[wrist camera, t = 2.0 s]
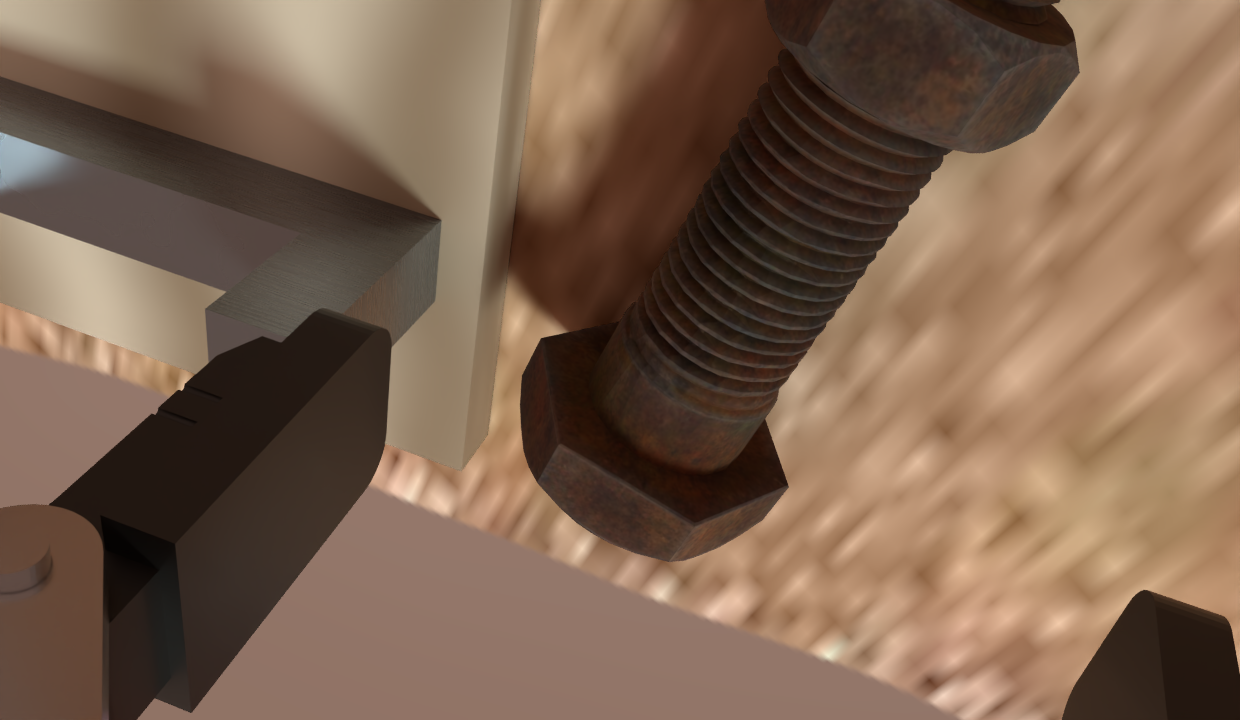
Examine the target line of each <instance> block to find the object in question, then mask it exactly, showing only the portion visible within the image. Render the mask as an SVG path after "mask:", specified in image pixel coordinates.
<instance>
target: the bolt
mask: <svg viewBox="0 0 1240 720" xmlns="http://www.w3.org/2000/svg"><path fill="white" fill-rule="evenodd" d="M1059 2H1060V0H765V4H766V9H767V15H768V19H769V21H770V24H771V26H772V28H773V30H774V31H775V33H776V35H777V36H778V38H779V40H780V41H781V42H782V44H783V45H784V46H785V47H786V48H787V49H784V50H782V51H781V52H780V53H779V56H778V60H779V65H778V66H774V67H773V68H772V69H770V71H769V73H768V81H769V83H764V84H763V85H762V86H761V87H760V88H759V91H758V99H756V100H754V101H753V102H752V103H751V104H750V106H749V109H748V113H747V114H748V117H745V118H742V120H741V121H740V122H739V124H738V126H739V132H738V133H737V134H735V135H734V136H733V137H732V138H731V139H730V140H729V148H728V149H727V150H726V151H725V152H724V153H722V154H721V156H720V163H719V164H718V165H717V166H716V167H715V168H714V169H713V170H712V171H711V178H710V179H709V180H708V181H707V182H706V183H705V184H704V187H703V191H702V193H701V194H699V196H698V199H697V202H696V205H695V207H694V208H693V209H692V210H691V211H690V212H689V214H688V218H687V221H685V222H684V223H683V225H682V226H681V227H680V230H679V233H678V235H677V236H676V237H675V238H674V239H673V240H672V243H671V245H670V248H669V250H668V251H667V252H666V253H665V254H664V256H663V258H662V261H661V263H660V265H659V266H658V268H657V269H656V270H655V271H654V272H653V277H652V279H651V280H650V281H649V282H648V283H647V285H646V288H645V291H644V292H643V293H642V294H641V296H640V297H639V299H638V301H637V302H635V303H633V304H632V305H631V306H630V307H629V308H628V309H627V311H626V312H625V314H624V316H623V318H622V319H621V321H620V322H616V323H611V324H606V325H601V326H597V327H592V328H587V329H582V330H578V331H573V332H568V333H563V334H559V335H554V336H549V337H544V338H541V340H540V341H539V343H538V345H537V347H536V349H535V351H534V353H533V355H532V357H531V359H530V361H529V363H528V365H527V367H526V369H525V371H524V373H523V375H522V383H521V399H520V413H521V430H522V441H523V449H524V453H525V457H526V460H527V463H528V466H529V468H530V470H531V472H532V474H533V476H534V478H535V479H536V481H537V483H538V484H539V485H540V486H541V487H542V488H543V490H544V491H545V492H546V493H547V494H548V495H549V496H550V497H551V498H552V500H553V501H554V502H555V503H556V504H557V505H558V506H559V507H560V508H561V509H562V510H563V511H564V512H565V513H566V514H567V515H569V516H570V517H571V518H572V519H573V520H574V521H575V522H576V523H578V524H579V525H581V526H582V527H584V528H585V529H587V530H588V531H590V532H591V533H593V534H594V535H596V536H598V537H600V538H601V539H603V540H605V541H607V542H609V543H611V544H613V545H616V546H618V547H621V548H623V549H626V550H629V551H631V552H634V553H637V554H640V555H644V556H648V557H652V558H656V559H660V560H664V561H667V562H672V561H684V560H687V559H690V558H694V557H696V556H699V555H701V554H704V553H707V552H709V551H711V550H714V549H716V548H718V547H720V546H722V545H724V544H726V543H727V542H729V541H731V540H733V539H734V538H736V537H738V536H740V535H741V534H743V533H744V532H746V531H747V530H748V529H750V528H751V527H753V526H754V525H756V524H757V523H759V522H760V521H762V520H763V519H764V517H765V516H766V515H767V514H768V512H769V511H770V510H771V509H772V507H773V506H774V505H775V504H776V502H777V501H778V500H779V499H780V497H781V496H782V495H783V494H784V492H785V491H786V490H787V489H788V488H789V486H788V483H787V480H786V477H785V474H784V472H783V469H782V466H781V463H780V460H779V457H778V455H777V452H776V449H775V446H774V443H773V440H772V437H771V435H770V432H769V429H768V426H767V423H766V420H765V418H766V416H767V415H768V414H769V412H770V411H771V409H772V408H773V406H774V405H775V403H776V401H777V397H778V393H779V388H780V387H781V386H782V385H783V384H784V383H785V382H786V381H787V380H788V378H789V376H790V374H791V373H792V372H793V371H794V369H795V368H796V367H797V366H798V363H799V362H800V361H801V359H802V358H803V357H804V356H805V354H806V353H807V350H808V349H809V348H810V347H811V346H812V344H813V342H814V340H815V338H816V337H817V336H818V335H819V334H820V333H821V332H822V331H823V330H824V328H825V327H826V323H827V322H828V321H829V320H830V319H832V318H833V316H834V315H835V312H836V310H837V309H838V308H839V307H840V306H841V305H842V304H843V303H844V301H845V299H846V297H847V295H848V294H850V292H851V291H852V290H853V289H854V287H855V285H856V283H857V280H858V279H859V278H861V277H862V276H863V275H864V273H865V271H866V268H867V266H868V264H870V263H871V262H872V261H873V260H874V259H875V258H876V253H877V251H878V250H880V249H881V248H882V247H883V246H884V245H885V243H886V240H887V238H888V236H891V235H892V233H893V232H894V231H895V230H896V228H897V227H898V221H900V220H901V219H902V218H903V217H905V216H906V215H907V213H908V211H909V205H911V204H912V203H913V202H914V201H915V200H916V199H917V198H918V197H919V194H920V189H921V188H923V187H924V186H925V185H926V184H927V183H928V182H929V181H930V179H931V172H934V171H935V170H937V169H938V168H939V167H940V166H941V164H942V162H943V155H947V154H948V153H950V152H951V151H952V150H957V151H962V152H967V153H986V152H990V151H993V150H996V149H999V148H1002V147H1005V146H1007V145H1010V144H1011V143H1013V142H1015V141H1017V140H1019V139H1021V138H1023V137H1025V136H1027V135H1029V134H1031V133H1033V132H1034V131H1035V130H1036V129H1037V128H1038V126H1039V125H1040V124H1041V122H1042V121H1043V120H1044V118H1045V117H1046V116H1047V114H1048V113H1049V112H1050V111H1051V109H1052V108H1053V107H1054V105H1055V104H1056V103H1057V101H1058V100H1059V99H1060V98H1061V96H1062V95H1063V94H1064V92H1065V91H1066V90H1067V88H1068V87H1069V86H1070V84H1071V83H1072V82H1073V81H1074V79H1075V78H1076V77H1077V75H1078V74H1079V73H1080V72H1079V65H1078V57H1077V49H1076V42H1075V37H1074V33H1073V30H1072V28H1071V27H1070V25H1069V24H1068V22H1067V21H1066V20H1065V18H1064V17H1063V15H1062V14H1061V13H1060V12H1059V11H1058V10H1057V9H1056V8H1055V7H1054V6H1052V5H1051V4H1054V3H1059Z"/></svg>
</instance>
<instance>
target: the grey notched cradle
mask: <svg viewBox="0 0 1240 720" xmlns="http://www.w3.org/2000/svg"><path fill="white" fill-rule="evenodd" d="M0 213H3V214H5V215H8V216H11V217H14V218H17V219H20V220H23V221H25V222H28V223H31V224H34V225H37V226H40V227H43V228H45V229H48V230H51V231H54V232H57V233H60V234H63V235H65V236H68V237H71V238H74V239H77V240H80V241H83V242H85V243H88V244H91V245H94V246H97V247H100V248H103V249H105V250H108V251H111V252H114V253H117V254H120V255H123V256H125V257H128V258H131V259H134V260H137V261H140V262H143V263H145V264H148V265H151V266H154V267H157V268H160V269H163V270H165V271H168V272H171V273H174V274H177V275H180V276H183V277H185V278H188V279H191V280H194V281H197V282H200V283H203V284H205V285H208V286H211V287H214V288H217V289H220V290H223V291H225V292H226V293H224V294H223V295H222V296H221V297H219V298H218V299H217V300H216V301H214V302H213V303H212V304H211V305H209V306H208V307H207V308H205V317H206V332H207V347H208V361H209V362H210V361H211V360H212V359H213V358H215V357H216V356H217V355H219V354H221V353H224V352H226V351H228V350H231V349H233V348H235V347H238V346H240V345H242V344H245V343H247V342H249V341H252V340H254V339H257V338H259V337H261V336H264V337H266V338H269V339H272V340H275V341H278V342H282V341H283V340H285V339H286V338H287V337H288V336H289V335H290V334H291V333H292V332H293V331H294V330H295V329H296V328H297V327H298V326H299V325H300V324H301V323H302V322H303V321H305V320H306V319H307V318H308V317H309V316H310V315H311V314H312V313H313V312H315V311H316V310H318V309H321V308H326V309H329V310H332V311H335V312H338V313H341V314H344V315H347V316H350V317H353V318H356V319H359V320H362V321H364V322H367V323H370V324H373V325H376V326H379V327H382V328H385V329H387V330H388V331H389V333H390V336H391V342H392V347H393V346H394V344H395V343H396V342H397V341H398V340H399V339H400V338H401V337H402V336H403V335H404V334H405V333H406V332H407V331H408V330H409V329H410V328H411V326H412V325H413V324H414V323H415V322H416V321H417V320H418V319H419V318H420V317H421V316H422V315H423V314H424V313H425V312H426V311H427V309H428V308H429V307H430V306H431V305H432V304H433V303H434V302H435V299H436V286H437V273H438V261H439V248H440V235H441V222H442V220H440V219H437V218H434V217H431V216H428V215H425V214H422V213H419V212H415V211H412V210H409V209H406V208H403V207H400V206H397V205H394V204H391V203H388V202H385V201H382V200H379V199H375V198H372V197H369V196H366V195H363V194H360V193H357V192H354V191H351V190H348V189H345V188H342V187H339V186H336V185H332V184H329V183H326V182H323V181H320V180H317V179H314V178H311V177H308V176H305V175H302V174H299V173H296V172H293V171H289V170H286V169H283V168H280V167H277V166H274V165H271V164H268V163H265V162H262V161H259V160H256V159H253V158H250V157H246V156H243V155H240V154H237V153H234V152H231V151H228V150H225V149H222V148H219V147H216V146H213V145H210V144H206V143H203V142H200V141H197V140H194V139H191V138H188V137H185V136H182V135H179V134H176V133H173V132H170V131H167V130H163V129H160V128H157V127H154V126H151V125H148V124H145V123H142V122H139V121H136V120H133V119H130V118H127V117H124V116H120V115H117V114H114V113H111V112H108V111H105V110H102V109H99V108H96V107H93V106H90V105H87V104H84V103H80V102H77V101H74V100H71V99H68V98H65V97H62V96H59V95H56V94H53V93H50V92H47V91H44V90H41V89H37V88H34V87H31V86H28V85H25V84H22V83H19V82H16V81H13V80H10V79H7V78H4V77H1V76H0Z"/></svg>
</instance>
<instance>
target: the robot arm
mask: <svg viewBox="0 0 1240 720" xmlns="http://www.w3.org/2000/svg"><path fill="white" fill-rule="evenodd" d="M391 349H392V342H391V336H390V333H389V331H388V330H387V329H385V328H382V327H379V326H376V325H373V324H370V323H367V322H364V321H362V320H359V319H356V318H353V317H350V316H347V315H344V314H341V313H338V312H335V311H332V310H329V309H326V308H321V309H318V310H316V311H315V312H313V313H312V314H311V315H310V316H309V317H308V318H307V319H306V320H305V321H303V322H302V323H301V324H300V325H299V326H298V327H297V328H296V329H295V330H294V331H293V332H292V333H291V334H290V335H289V336H288V337H287V338H286V339H285V340H283V341H282V342H278V341H275V340H272V339H269V338H266V337H264V336H261V337H259V338H257V339H254V340H252V341H249V342H247V343H245V344H242V345H240V346H238V347H235V348H233V349H231V350H228V351H226V352H224V353H221V354H219V355H217V356H216V357H215V358H213V359H212V360H211V361H210V362H209V363H208V364H207V365H206V366H204V367H203V368H202V369H201V370H200V371H199V372H198V373H197V374H196V375H194V376H193V377H192V378H191V379H190V380H189V381H188V382H187V383H185V386H184V389H183V390H182V391H181V390H178V391H176V392H175V393H174V394H173V395H172V396H171V397H170V398H169V399H167V400H166V401H165V402H164V403H163V404H162V405H161V406H160V407H159V408H158V412H157V413H156V415H154V414H151V415H150V416H148V417H147V418H146V419H145V420H144V421H143V422H142V423H141V424H139V425H138V426H137V427H136V428H135V429H134V430H133V431H132V432H130V434H128V435H127V436H126V437H125V438H124V439H123V440H122V441H120V442H119V443H118V444H117V445H116V446H115V447H114V448H113V449H111V450H110V451H109V452H108V453H107V454H106V455H105V456H104V457H103V458H101V459H100V460H99V461H98V462H97V463H96V464H95V465H94V466H93V467H91V468H90V469H89V470H88V471H87V472H86V473H85V474H84V475H82V476H81V477H80V478H79V479H78V480H77V481H76V482H74V483H73V484H72V485H71V486H70V487H69V488H68V489H67V490H65V492H63V493H62V494H61V495H60V496H59V497H58V498H57V499H55V500H54V501H53V502H52V503H50V504H49V505H36V504H30V505H17V506H10V507H4V508H0V720H137V719H138V717H139V716H140V715H141V714H142V713H143V711H144V710H145V709H146V708H147V706H148V705H149V704H150V703H151V702H152V700H153V699H154V698H156V699H159V700H161V701H163V702H166V703H168V704H171V705H173V706H176V707H178V708H181V709H183V710H186V711H188V712H190V713H191V712H193V710H194V709H195V708H196V706H197V705H198V704H199V702H200V701H201V700H202V699H203V697H204V696H205V695H206V694H207V692H208V691H209V690H210V688H211V687H212V686H213V685H214V683H215V682H216V681H217V679H218V678H219V677H220V676H221V674H222V673H223V672H224V670H225V669H226V668H227V666H228V665H229V664H230V662H232V660H233V659H234V658H235V656H236V655H237V654H238V652H239V651H240V650H241V649H242V647H243V646H244V645H245V644H246V642H247V641H248V640H249V638H250V637H251V636H252V634H253V633H254V632H255V631H256V630H257V628H258V627H259V626H260V624H261V623H262V622H263V621H264V619H265V618H266V617H267V615H268V614H269V613H270V612H271V610H272V609H273V608H274V606H275V605H276V604H277V602H278V601H279V600H280V599H281V597H282V596H283V595H284V594H285V592H286V591H287V590H288V588H289V587H290V586H291V585H292V583H293V582H294V581H295V579H296V578H297V577H298V575H299V574H300V573H301V572H302V571H303V569H304V568H305V567H306V565H307V564H308V563H309V561H310V560H311V559H312V558H313V556H314V555H315V554H316V552H317V551H318V550H319V549H320V547H321V546H322V545H323V543H324V542H325V541H326V540H327V538H328V537H329V536H330V535H331V533H332V532H333V531H334V529H335V528H336V527H337V526H338V524H339V523H340V522H341V520H342V519H343V518H344V517H345V515H346V514H347V513H348V511H349V510H350V509H351V508H352V506H353V505H354V504H355V503H356V501H357V500H358V499H359V497H360V496H361V495H362V494H363V492H364V491H365V489H366V488H367V487H368V485H369V483H370V482H371V480H372V478H373V476H374V474H375V472H376V470H377V468H378V465H379V462H380V460H381V457H382V454H383V450H384V446H385V441H386V433H387V416H388V399H389V383H390V366H391ZM1062 720H1240V673H1239V667H1238V662H1237V656H1236V650H1235V645H1234V639H1233V634H1232V629H1231V626H1230V624H1229V622H1228V620H1227V619H1226V618H1225V617H1223V616H1221V615H1219V614H1216V613H1213V612H1210V611H1207V610H1204V609H1201V608H1198V607H1195V606H1192V605H1189V604H1186V603H1183V602H1180V601H1177V600H1174V599H1172V598H1169V597H1166V596H1163V595H1160V594H1157V593H1154V592H1151V591H1148V590H1143V591H1140V592H1139V593H1137V594H1136V595H1135V596H1134V597H1133V598H1132V599H1131V601H1130V602H1129V604H1128V605H1127V607H1126V608H1125V610H1124V611H1123V613H1122V614H1121V616H1120V617H1119V619H1118V620H1117V622H1116V623H1115V625H1114V626H1113V628H1112V629H1111V631H1110V632H1109V634H1108V635H1107V637H1106V638H1105V640H1104V641H1103V643H1102V644H1101V646H1100V648H1099V649H1098V651H1097V652H1096V654H1095V655H1094V657H1093V658H1092V660H1091V661H1090V663H1089V664H1088V666H1087V667H1086V669H1085V670H1084V672H1083V673H1082V675H1081V676H1080V678H1079V679H1078V681H1077V683H1076V684H1075V686H1074V688H1073V690H1072V692H1071V694H1070V696H1069V699H1068V701H1067V704H1066V707H1065V710H1064V714H1063V717H1062Z"/></svg>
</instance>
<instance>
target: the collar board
mask: <svg viewBox="0 0 1240 720" xmlns="http://www.w3.org/2000/svg"><path fill="white" fill-rule="evenodd" d="M540 3H541V0H0V76H1V77H4V78H7V79H10V80H13V81H16V82H19V83H22V84H25V85H28V86H31V87H34V88H37V89H41V90H44V91H47V92H50V93H53V94H56V95H59V96H62V97H65V98H68V99H71V100H74V101H77V102H80V103H84V104H87V105H90V106H93V107H96V108H99V109H102V110H105V111H108V112H111V113H114V114H117V115H120V116H124V117H127V118H130V119H133V120H136V121H139V122H142V123H145V124H148V125H151V126H154V127H157V128H160V129H163V130H167V131H170V132H173V133H176V134H179V135H182V136H185V137H188V138H191V139H194V140H197V141H200V142H203V143H206V144H210V145H213V146H216V147H219V148H222V149H225V150H228V151H231V152H234V153H237V154H240V155H243V156H246V157H250V158H253V159H256V160H259V161H262V162H265V163H268V164H271V165H274V166H277V167H280V168H283V169H286V170H289V171H293V172H296V173H299V174H302V175H305V176H308V177H311V178H314V179H317V180H320V181H323V182H326V183H329V184H332V185H336V186H339V187H342V188H345V189H348V190H351V191H354V192H357V193H360V194H363V195H366V196H369V197H372V198H375V199H379V200H382V201H385V202H388V203H391V204H394V205H397V206H400V207H403V208H406V209H409V210H412V211H415V212H419V213H422V214H425V215H428V216H431V217H434V218H437V219H440V220H442V222H441V235H440V248H439V261H438V273H437V286H436V299H435V302H434V303H433V304H432V305H431V306H430V307H429V308H428V309H427V311H426V312H425V313H424V314H423V315H422V316H421V317H420V318H419V319H418V320H417V321H416V322H415V323H414V324H413V325H412V326H411V328H410V329H409V330H408V331H407V332H406V333H405V334H404V335H403V336H402V337H401V338H400V339H399V340H398V341H397V342H396V343H395V344H394V346H393V347H392V349H391V366H390V383H389V399H388V416H387V433H386V441H385V444H388V445H390V446H393V447H396V448H399V449H401V450H404V451H407V452H409V453H412V454H415V455H418V456H420V457H423V458H426V459H429V460H431V461H434V462H437V463H439V464H442V465H445V466H448V467H450V468H453V469H456V470H459V471H462V470H463V469H464V467H465V466H466V465H467V463H468V462H469V460H470V459H471V458H472V456H473V455H474V453H475V452H476V451H477V449H478V448H479V447H480V445H481V444H482V442H483V441H484V440H485V438H486V437H487V435H488V429H489V421H490V413H491V405H492V397H493V388H494V380H495V372H496V364H497V356H498V347H499V339H500V331H501V323H502V315H503V306H504V298H505V290H506V282H507V274H508V265H509V257H510V249H511V241H512V233H513V224H514V216H515V208H516V200H517V192H518V183H519V175H520V167H521V159H522V151H523V142H524V134H525V126H526V118H527V110H528V101H529V93H530V85H531V77H532V69H533V60H534V52H535V44H536V36H537V28H538V19H539V11H540ZM224 293H226V292H225V291H223V290H220V289H217V288H214V287H211V286H208V285H205V284H203V283H200V282H197V281H194V280H191V279H188V278H185V277H183V276H180V275H177V274H174V273H171V272H168V271H165V270H163V269H160V268H157V267H154V266H151V265H148V264H145V263H143V262H140V261H137V260H134V259H131V258H128V257H125V256H123V255H120V254H117V253H114V252H111V251H108V250H105V249H103V248H100V247H97V246H94V245H91V244H88V243H85V242H83V241H80V240H77V239H74V238H71V237H68V236H65V235H63V234H60V233H57V232H54V231H51V230H48V229H45V228H43V227H40V226H37V225H34V224H31V223H28V222H25V221H23V220H20V219H17V218H14V217H11V216H8V215H5V214H3V213H0V303H3V304H6V305H8V306H11V307H14V308H17V309H19V310H22V311H25V312H27V313H30V314H33V315H36V316H38V317H41V318H44V319H47V320H49V321H52V322H55V323H57V324H60V325H63V326H66V327H68V328H71V329H74V330H77V331H79V332H82V333H85V334H87V335H90V336H93V337H96V338H98V339H101V340H104V341H107V342H109V343H112V344H115V345H118V346H120V347H123V348H126V349H128V350H131V351H134V352H137V353H139V354H142V355H145V356H148V357H150V358H153V359H156V360H158V361H161V362H164V363H167V364H169V365H172V366H175V367H178V368H180V369H183V370H186V371H188V372H191V373H194V374H197V373H198V372H199V371H200V370H201V369H202V368H203V367H204V366H206V365H207V364H208V363H209V361H208V347H207V332H206V317H205V308H207V307H208V306H209V305H211V304H212V303H213V302H214V301H216V300H217V299H218V298H219V297H221V296H222V295H223V294H224Z"/></svg>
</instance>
